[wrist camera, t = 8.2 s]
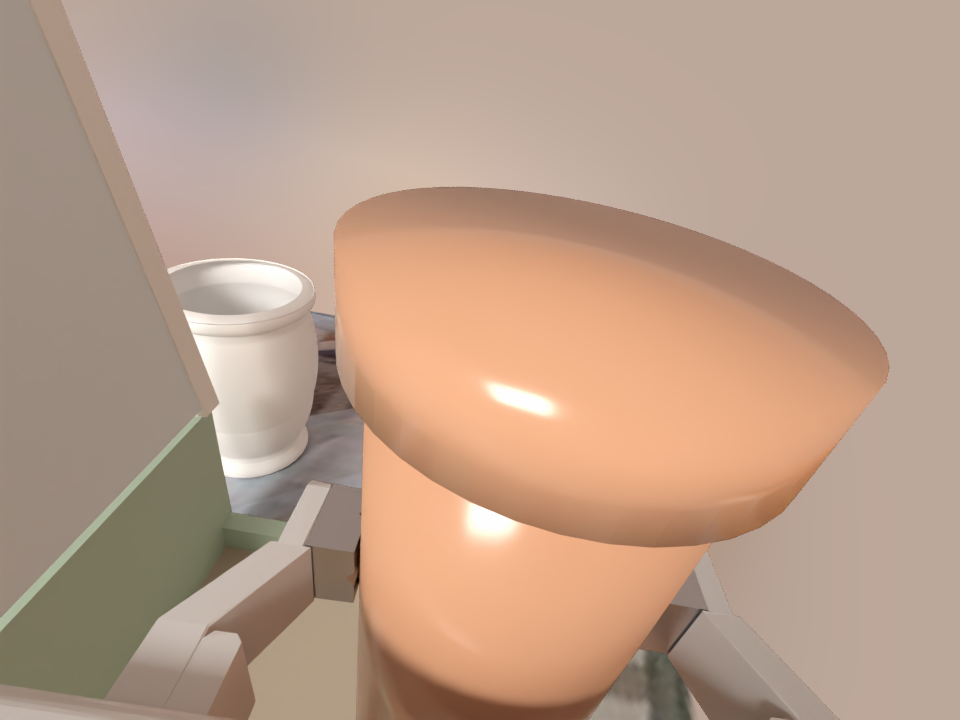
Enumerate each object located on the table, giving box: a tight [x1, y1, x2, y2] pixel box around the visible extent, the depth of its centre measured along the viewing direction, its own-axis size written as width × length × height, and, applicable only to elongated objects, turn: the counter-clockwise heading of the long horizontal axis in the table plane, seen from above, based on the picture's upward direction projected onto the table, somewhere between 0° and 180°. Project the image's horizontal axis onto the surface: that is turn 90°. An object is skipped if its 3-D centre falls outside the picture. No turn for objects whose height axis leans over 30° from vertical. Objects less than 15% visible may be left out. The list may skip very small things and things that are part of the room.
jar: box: [167, 258, 318, 478], centre depth 35 cm, size 11×10×15 cm
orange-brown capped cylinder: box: [334, 187, 890, 720], centre depth 10 cm, size 7×7×15 cm
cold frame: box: [0, 412, 359, 720], centre depth 23 cm, size 22×14×12 cm, turn 84°
